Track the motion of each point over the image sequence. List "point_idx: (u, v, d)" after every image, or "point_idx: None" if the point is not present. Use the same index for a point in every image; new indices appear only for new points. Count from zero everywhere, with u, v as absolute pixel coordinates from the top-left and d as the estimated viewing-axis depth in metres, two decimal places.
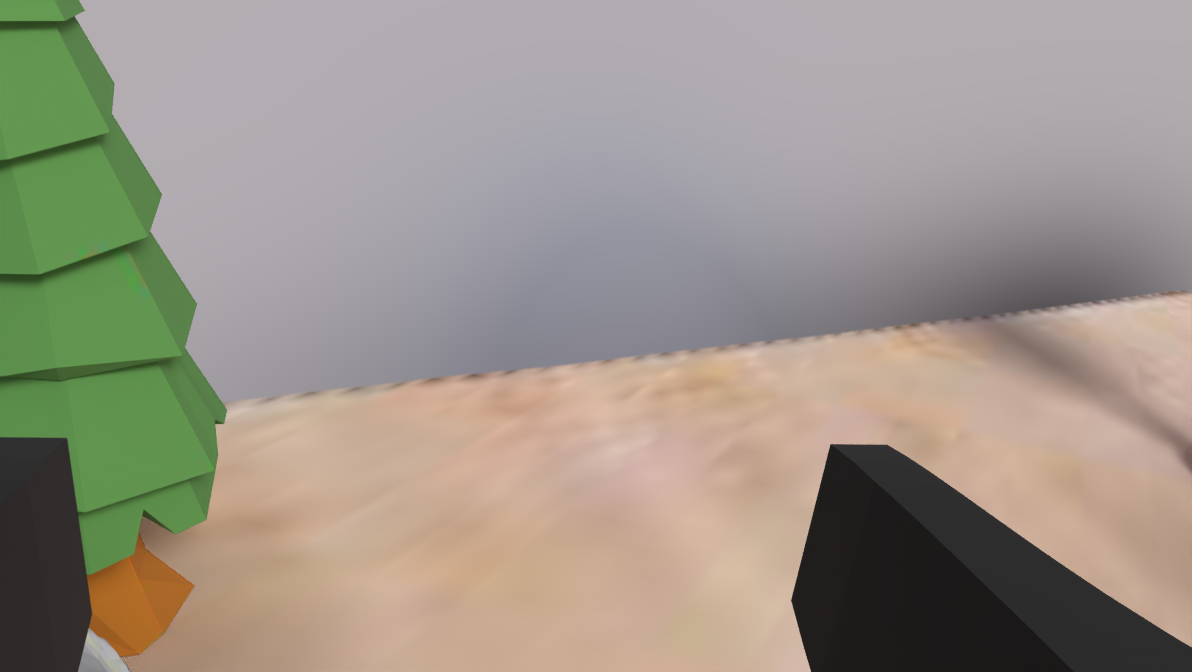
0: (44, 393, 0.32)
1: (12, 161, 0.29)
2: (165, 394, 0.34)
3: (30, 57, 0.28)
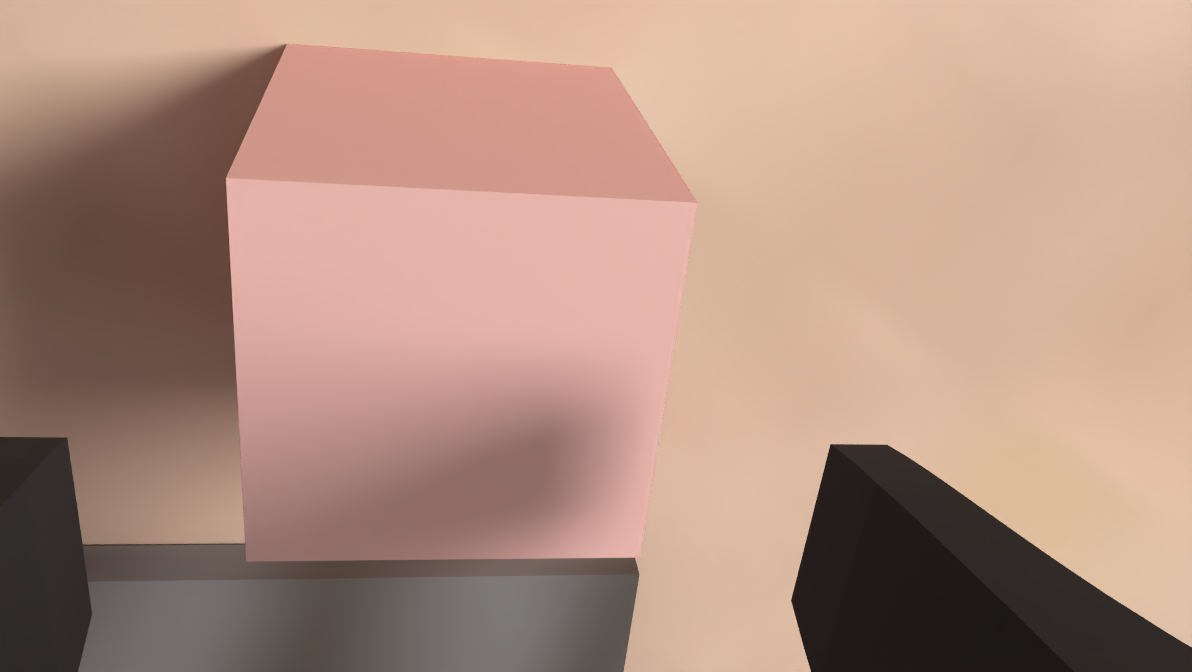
0: None
1: None
2: None
3: None
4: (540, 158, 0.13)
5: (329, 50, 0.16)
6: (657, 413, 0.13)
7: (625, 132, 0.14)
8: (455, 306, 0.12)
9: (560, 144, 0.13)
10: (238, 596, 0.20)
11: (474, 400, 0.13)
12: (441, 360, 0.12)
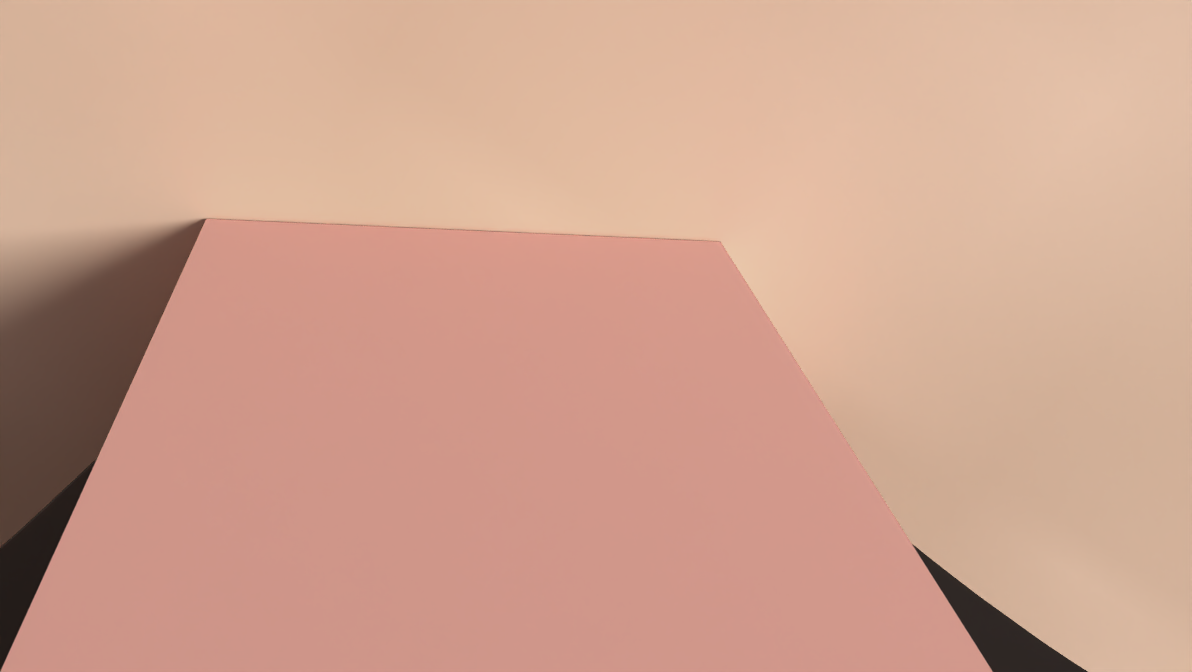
0: None
1: None
2: None
3: None
4: (659, 543, 0.06)
5: (273, 232, 0.10)
6: None
7: (790, 430, 0.08)
8: None
9: (686, 485, 0.07)
10: None
11: None
12: None
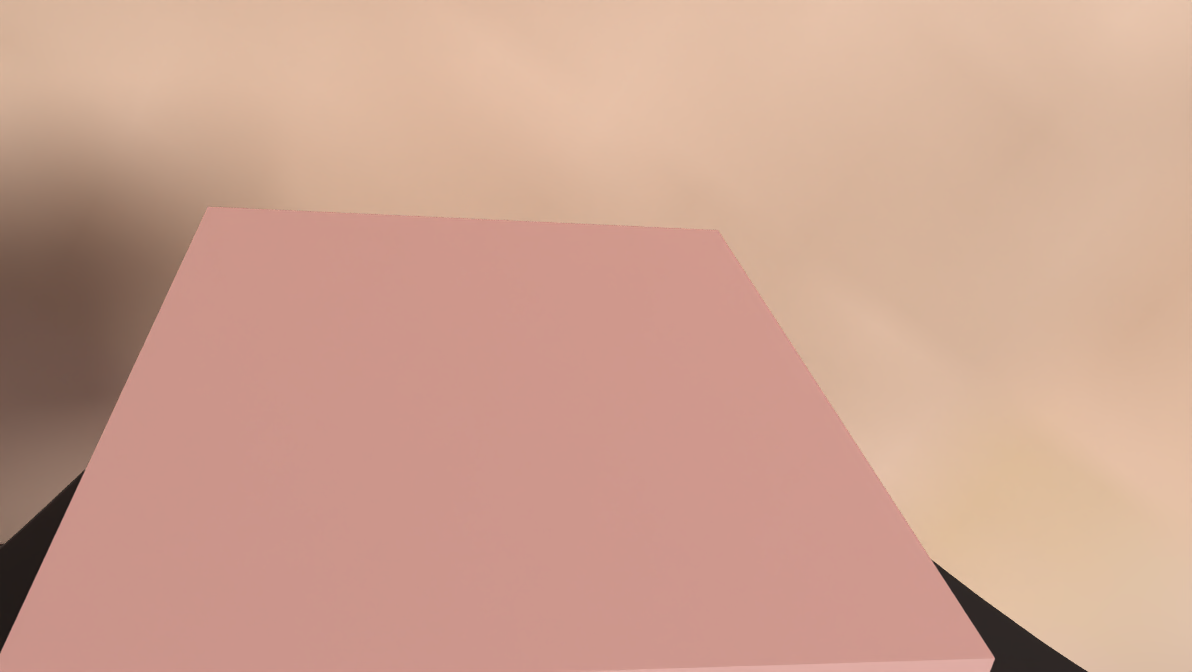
0: None
1: None
2: None
3: None
4: (656, 519, 0.06)
5: (274, 220, 0.10)
6: None
7: (786, 412, 0.08)
8: None
9: (683, 464, 0.07)
10: None
11: None
12: None
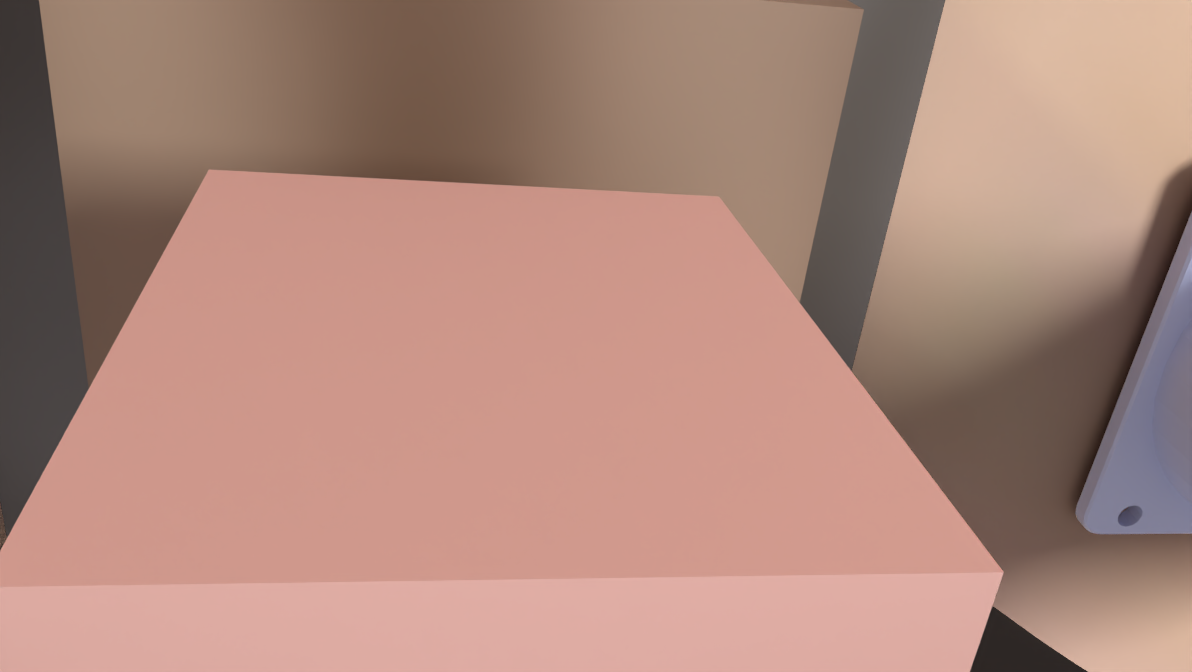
0: None
1: None
2: None
3: None
4: (662, 446, 0.06)
5: (275, 182, 0.10)
6: None
7: (790, 354, 0.08)
8: None
9: (685, 396, 0.07)
10: None
11: None
12: None
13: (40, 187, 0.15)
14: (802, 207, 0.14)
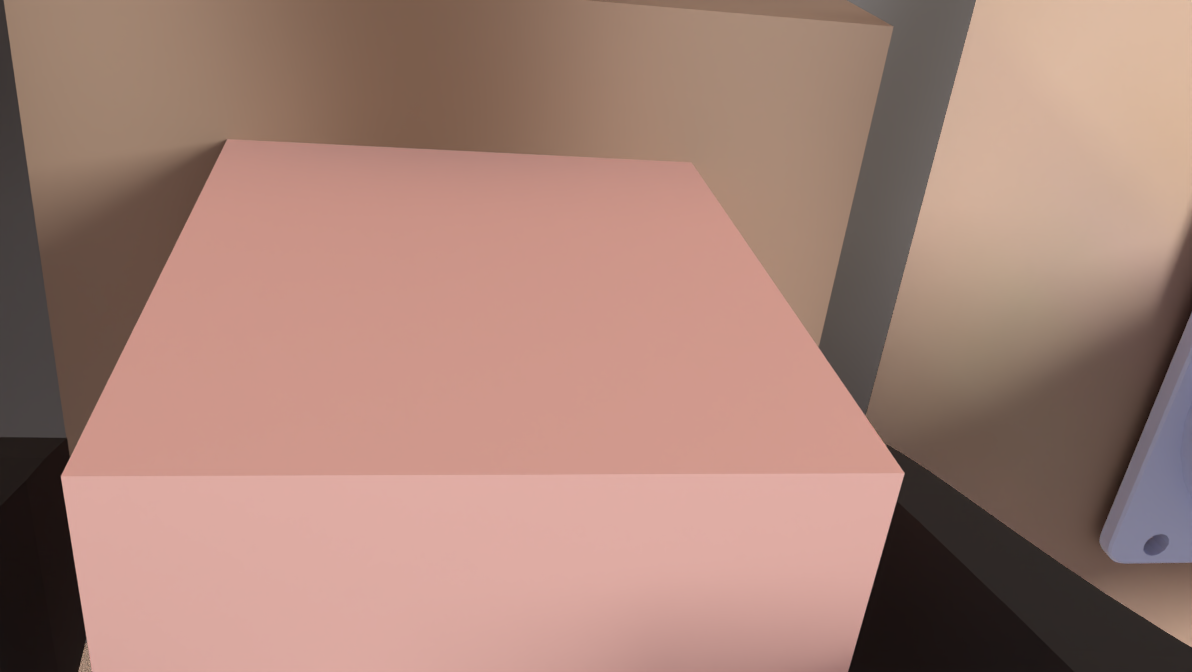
0: None
1: None
2: None
3: None
4: (622, 374, 0.08)
5: (287, 150, 0.11)
6: None
7: (742, 299, 0.09)
8: (484, 650, 0.07)
9: (647, 334, 0.08)
10: None
11: None
12: None
13: (16, 212, 0.14)
14: (825, 236, 0.13)
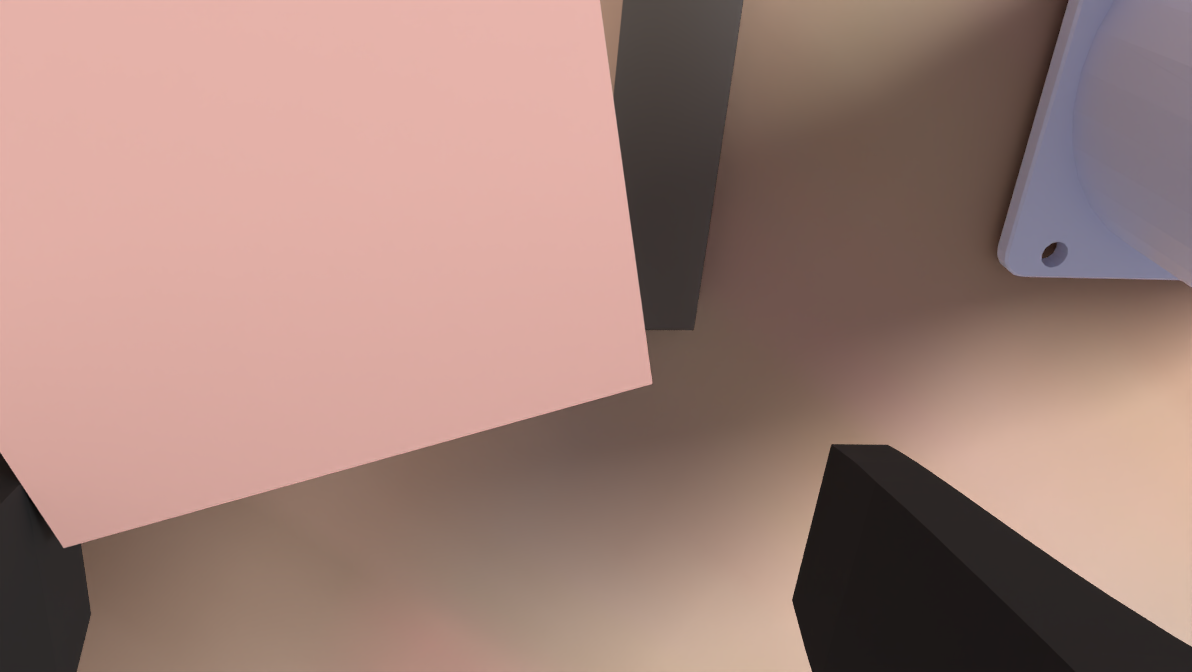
0: None
1: None
2: None
3: None
4: None
5: None
6: (611, 156, 0.08)
7: None
8: (200, 59, 0.07)
9: None
10: None
11: (302, 215, 0.07)
12: (218, 160, 0.07)
13: None
14: None
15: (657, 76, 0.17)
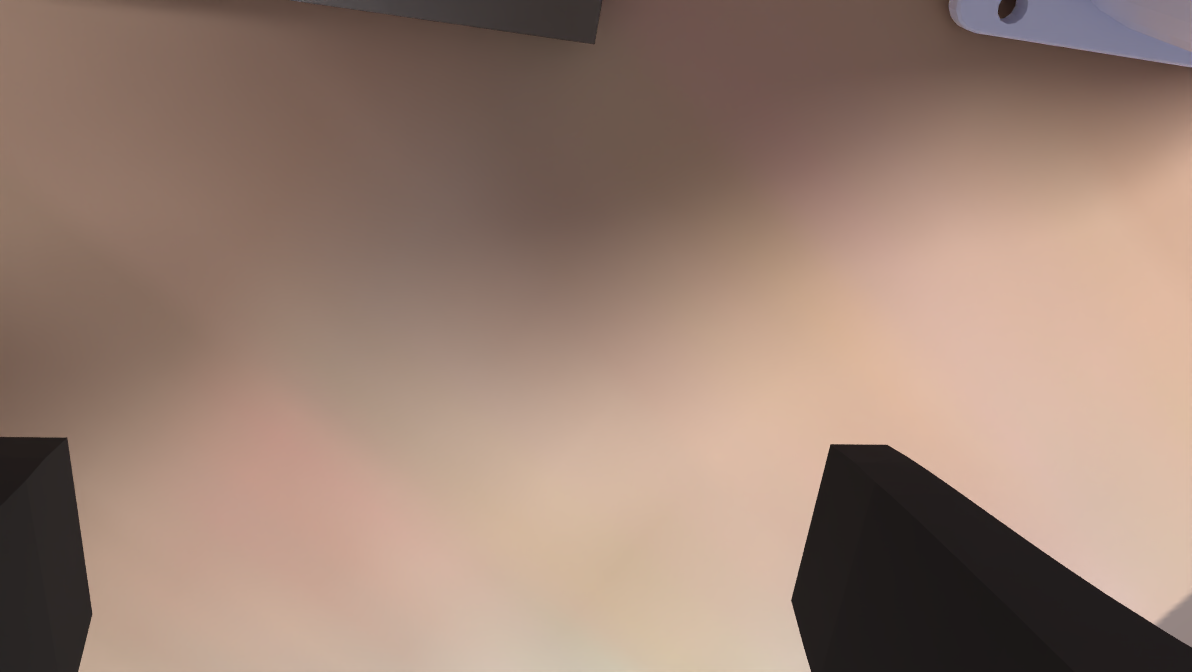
0: None
1: None
2: None
3: None
4: None
5: None
6: None
7: None
8: None
9: None
10: None
11: None
12: None
13: None
14: None
15: None
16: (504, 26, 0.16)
